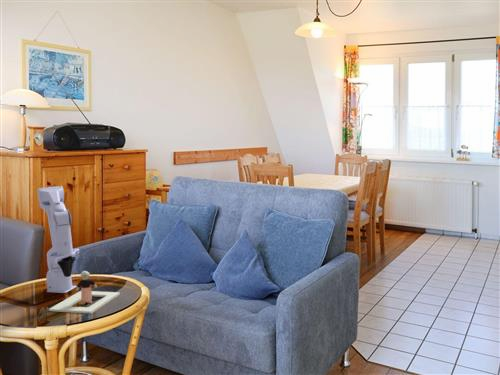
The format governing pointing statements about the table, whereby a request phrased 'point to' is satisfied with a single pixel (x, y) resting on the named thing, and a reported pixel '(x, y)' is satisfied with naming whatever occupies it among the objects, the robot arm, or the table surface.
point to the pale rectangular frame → (67, 304)
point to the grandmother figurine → (86, 288)
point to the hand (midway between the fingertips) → (67, 276)
